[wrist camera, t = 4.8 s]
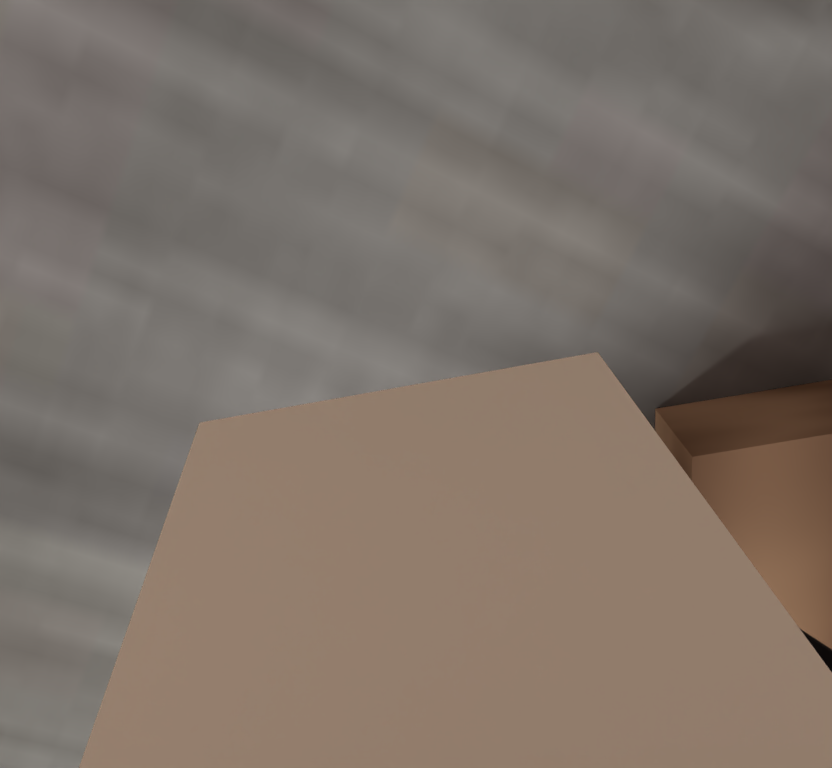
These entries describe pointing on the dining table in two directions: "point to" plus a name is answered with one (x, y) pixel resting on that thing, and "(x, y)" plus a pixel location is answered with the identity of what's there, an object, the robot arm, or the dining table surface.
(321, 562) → the cream block
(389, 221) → the dining table surface
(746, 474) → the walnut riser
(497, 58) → the dining table surface
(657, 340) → the dining table surface
